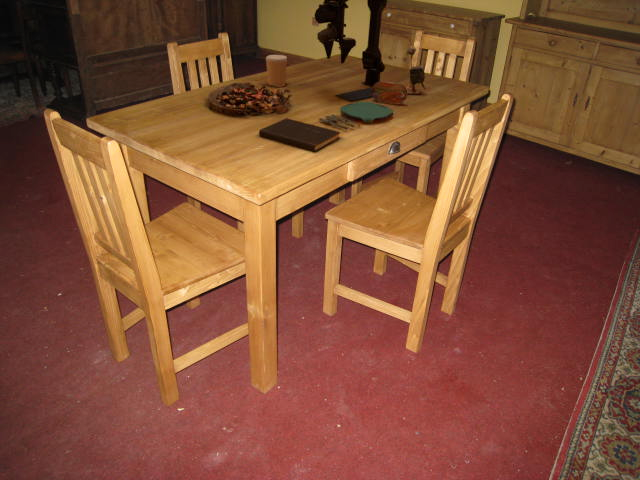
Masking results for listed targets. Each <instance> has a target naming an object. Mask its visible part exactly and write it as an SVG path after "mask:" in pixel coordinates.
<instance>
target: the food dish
mask: <svg viewBox="0 0 640 480" xmlns="http://www.w3.org/2000/svg"><path fill="white" fill-rule="evenodd" d="M256 85H261V87H260V88H259V87H256ZM268 86H269V87H272V88H273V86H274V89H272V90H271V91H270V89H268V87H267V83H261V82H254V84H253V82H240V83H238V82H233V83H229V84H227V85H224V86H220V87H218V88H215V89H213V90H212V91H210V92H209V93H208V97H207V99H206V101H207V103H206V105H207V108H209V109H211V110H213V111H215V112H219V113H222V114H226V115H230V116H241V117H242V116H251V117H256V116H266V115H271V114H284V113H285V112H286V111H287V108H288V107H289V106H290V103H289V102H290V101H291V99H290V98H291V97H292V96H293V94H291V92H292V91H291V89H288V88H285V89H284V91H283V90H281V91H280V89H276V88H280V87H279V86H278V85H271V84H269V85H268ZM286 93H288V95H287V97H286V96H285V94H286Z"/></svg>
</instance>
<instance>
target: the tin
mask: <svg viewBox="0 0 640 480" xmlns="http://www.w3.org/2000/svg"><path fill="white" fill-rule="evenodd" d="M371 89H372V91H371V93H372V96H373V97H372V99H374V101H376V102H378V103H383V104H388V105H395V106H399V105H401V104H403V103H404V102H405V101H406V100H407V98H408V93H407V89H406V86H405V85H404V84H402V83H399V82H392V81H384V80H380V82H377V83H375V84H374V85H373V86H371Z"/></svg>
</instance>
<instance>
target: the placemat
mask: <svg viewBox="0 0 640 480" xmlns="http://www.w3.org/2000/svg"><path fill="white" fill-rule="evenodd" d="M371 91H372V87H367V88H362V89H358V90H357V89H356V90H353V91H348V92H341V93H338V94H336V95H335V97H337V98H340V99H342V100H345V101H348V102H351V103H354V102H359V101H362V100H367V99H371V98H373V96H372V93H371Z"/></svg>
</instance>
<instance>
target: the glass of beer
mask: <svg viewBox="0 0 640 480" xmlns="http://www.w3.org/2000/svg"><path fill="white" fill-rule="evenodd" d="M265 63H266V74H267V86H270V85H269V84H271V85H278V86H279V87H278V88H280V87H285V85H286V81H287V67H288V58H287V56H286V55H282V54H269V55H267V56H266V57H265ZM273 87H274V86H273ZM273 87H272V88H273ZM274 88H275V87H274Z"/></svg>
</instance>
